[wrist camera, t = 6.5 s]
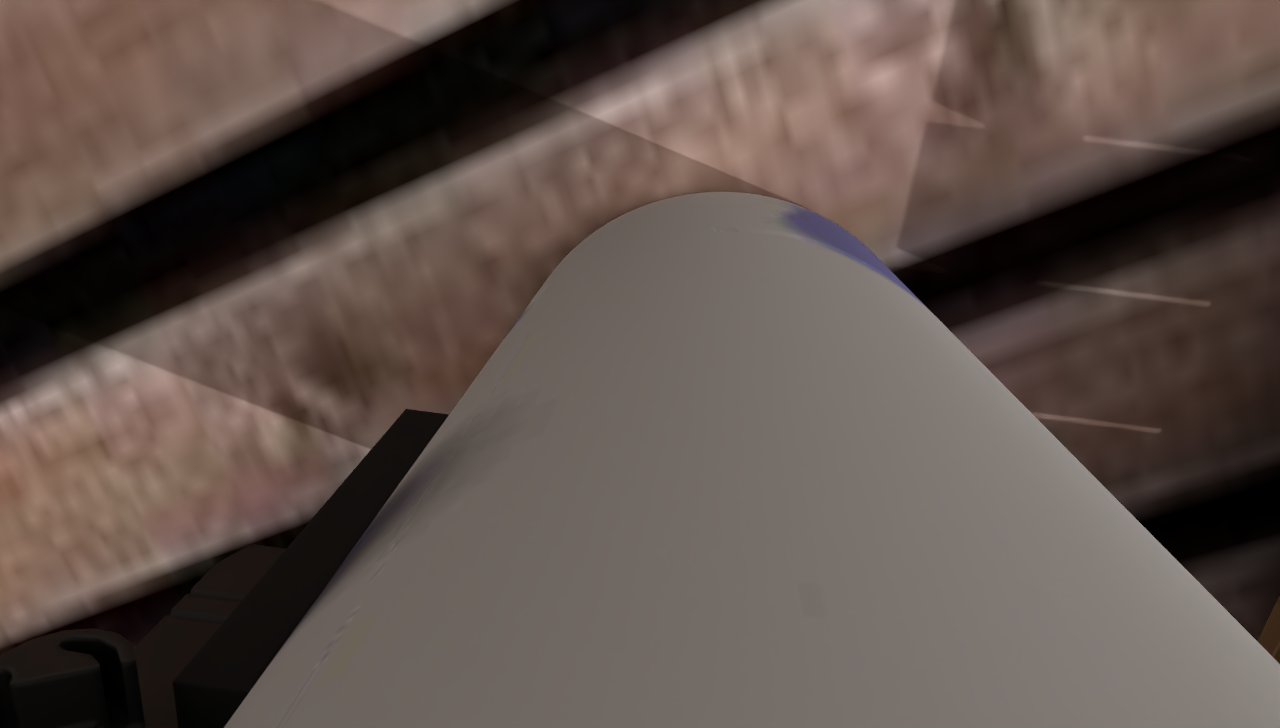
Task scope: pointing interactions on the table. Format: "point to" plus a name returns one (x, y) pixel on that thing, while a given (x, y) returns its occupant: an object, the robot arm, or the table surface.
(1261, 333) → the table surface
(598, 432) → the container
